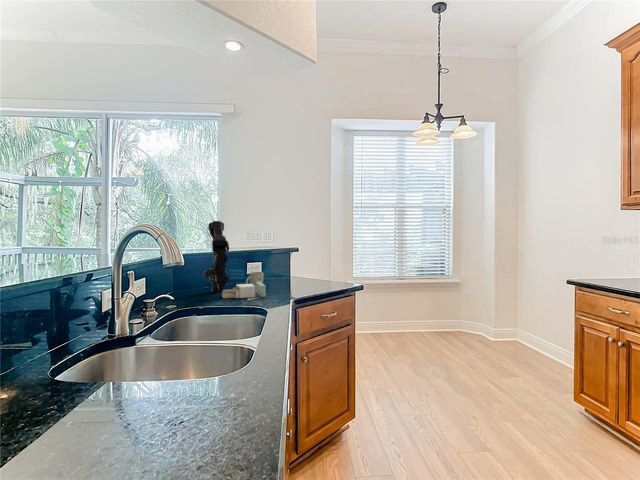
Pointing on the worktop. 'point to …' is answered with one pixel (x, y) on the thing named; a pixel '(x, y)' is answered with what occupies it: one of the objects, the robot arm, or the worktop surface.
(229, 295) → the dowel
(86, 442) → the worktop surface
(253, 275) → the mug
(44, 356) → the worktop surface
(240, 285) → the block
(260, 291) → the wall
